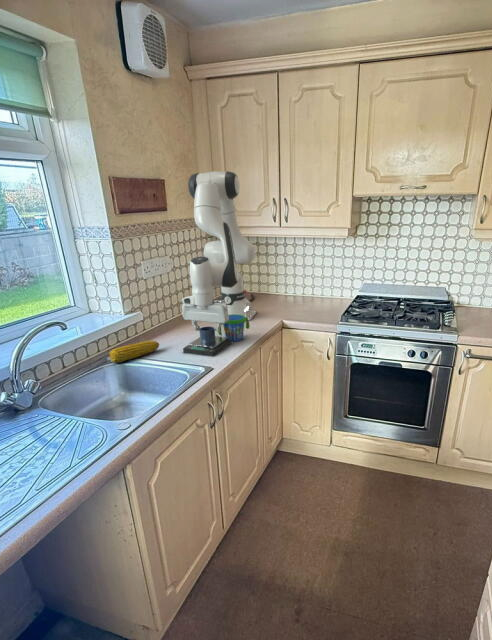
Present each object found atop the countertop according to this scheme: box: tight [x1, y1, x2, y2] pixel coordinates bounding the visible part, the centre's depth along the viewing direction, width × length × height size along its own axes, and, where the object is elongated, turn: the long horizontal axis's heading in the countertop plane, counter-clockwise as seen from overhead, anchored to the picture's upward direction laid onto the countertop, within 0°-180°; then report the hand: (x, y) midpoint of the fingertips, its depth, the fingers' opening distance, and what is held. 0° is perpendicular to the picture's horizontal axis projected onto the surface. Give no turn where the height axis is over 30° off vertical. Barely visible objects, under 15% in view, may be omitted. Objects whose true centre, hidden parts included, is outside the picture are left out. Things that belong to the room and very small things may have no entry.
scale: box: [182, 339, 232, 357], centre depth 174 cm, size 16×14×3 cm
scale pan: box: [187, 335, 228, 349], centre depth 174 cm, size 13×12×1 cm
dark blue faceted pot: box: [198, 326, 216, 343], centre depth 172 cm, size 6×6×5 cm
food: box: [108, 340, 160, 364], centre depth 165 cm, size 21×6×6 cm, turn 141°
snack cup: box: [218, 314, 251, 342], centre depth 182 cm, size 16×10×10 cm
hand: (207, 331), depth 172 cm, fingers open, 8 cm apart
